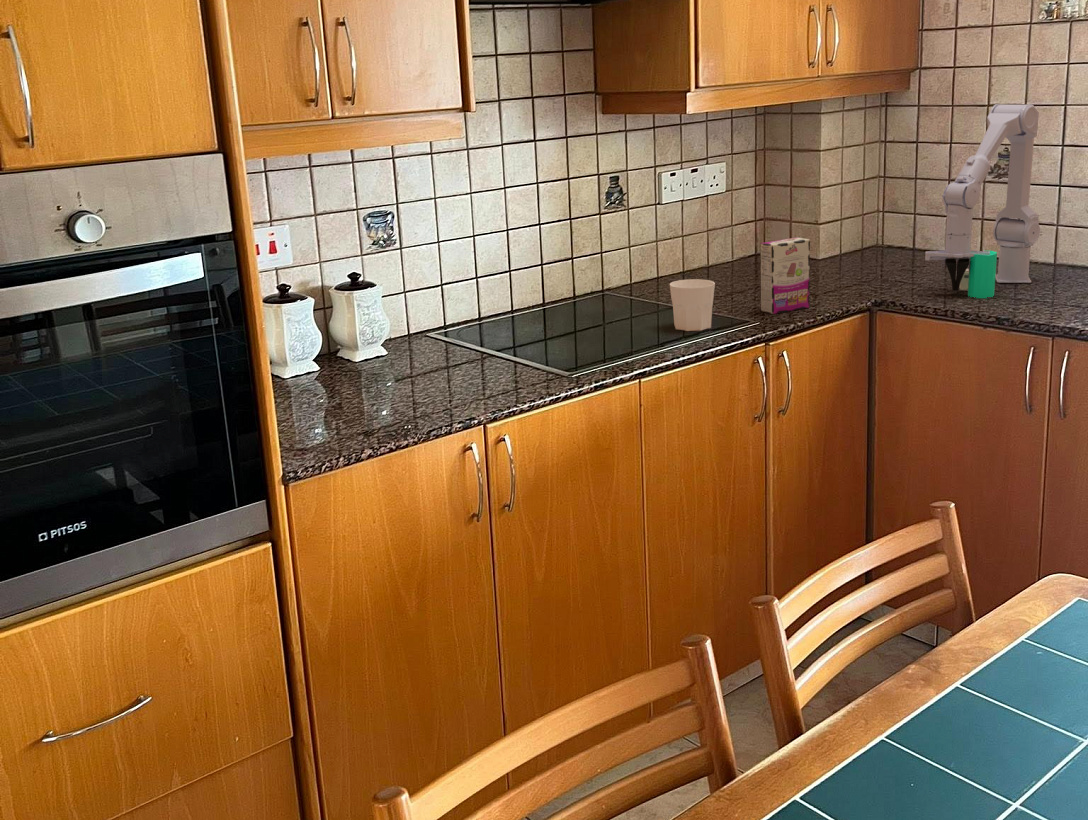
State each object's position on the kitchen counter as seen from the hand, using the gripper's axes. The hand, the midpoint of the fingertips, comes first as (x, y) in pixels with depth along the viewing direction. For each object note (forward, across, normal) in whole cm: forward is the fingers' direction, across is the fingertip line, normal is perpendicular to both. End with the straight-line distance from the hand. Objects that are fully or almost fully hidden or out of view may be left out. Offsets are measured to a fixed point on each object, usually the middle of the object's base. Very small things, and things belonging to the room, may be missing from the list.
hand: (955, 289), depth 281 cm
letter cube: (+2, +4, +9) cm, 10 cm away
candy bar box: (+2, -39, -18) cm, 43 cm away
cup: (+2, -58, -37) cm, 69 cm away
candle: (+2, +6, 0) cm, 6 cm away
